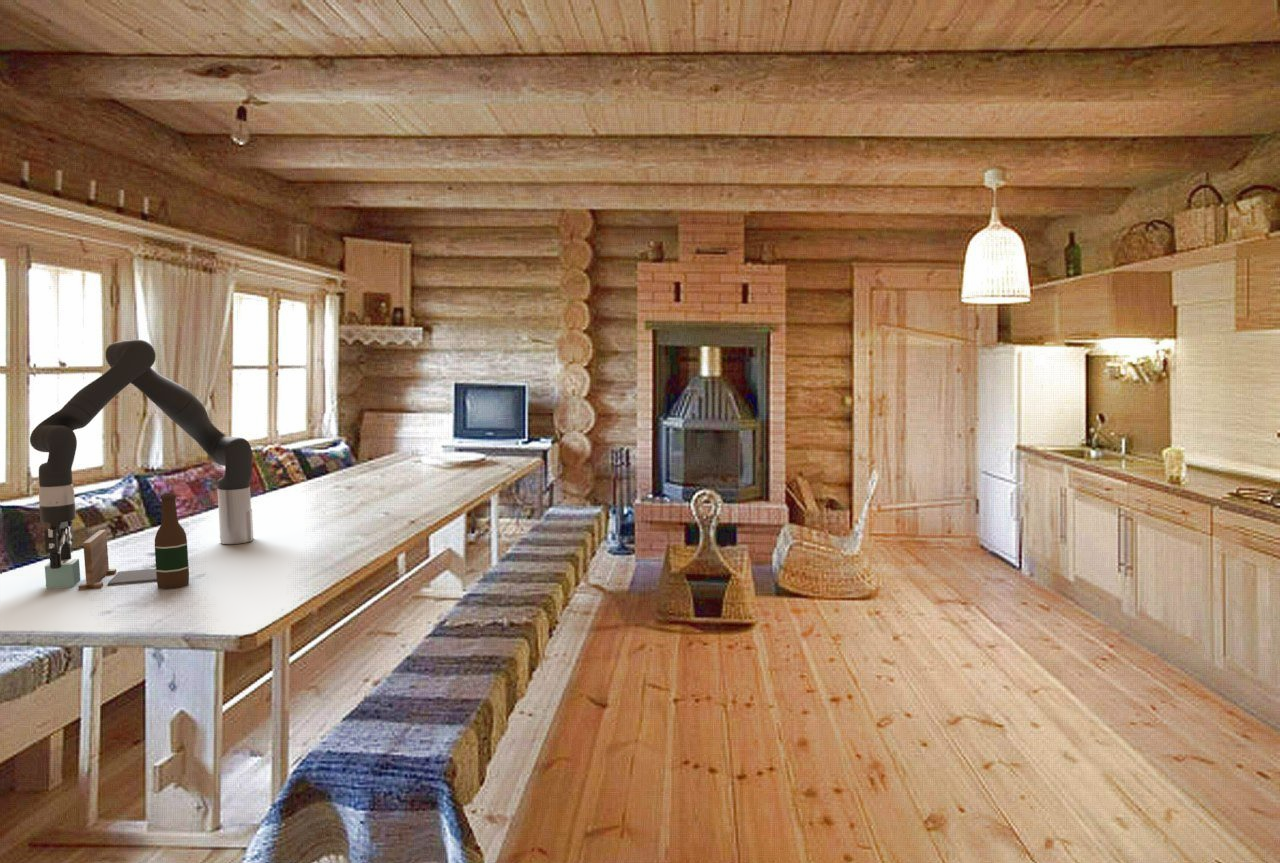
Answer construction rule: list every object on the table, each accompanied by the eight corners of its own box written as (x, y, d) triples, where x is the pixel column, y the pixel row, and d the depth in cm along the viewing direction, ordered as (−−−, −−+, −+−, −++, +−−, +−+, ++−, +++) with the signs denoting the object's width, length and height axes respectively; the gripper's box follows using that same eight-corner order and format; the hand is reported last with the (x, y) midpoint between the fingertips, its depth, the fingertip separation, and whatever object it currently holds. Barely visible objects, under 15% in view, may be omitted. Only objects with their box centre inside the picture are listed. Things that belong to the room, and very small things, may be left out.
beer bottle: (165, 581, 220) (159, 491, 217) (195, 580, 220) (190, 490, 218) (150, 590, 212) (144, 496, 210) (182, 589, 213) (176, 496, 210)
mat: (168, 569, 232) (168, 567, 232) (160, 580, 220) (160, 578, 220) (118, 573, 228) (118, 571, 227) (107, 585, 216) (107, 583, 216)
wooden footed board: (116, 572, 229) (113, 529, 228) (101, 587, 214) (98, 541, 213) (95, 574, 227) (92, 530, 226) (78, 589, 212) (75, 543, 211)
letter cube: (80, 580, 221) (78, 557, 220) (73, 586, 215) (72, 562, 215) (53, 583, 219) (51, 559, 218) (46, 589, 213) (44, 564, 213)
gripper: (66, 506, 210) (70, 569, 211) (82, 497, 223) (85, 557, 224) (30, 508, 207) (34, 572, 209) (48, 498, 220) (52, 559, 222)
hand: (61, 564), depth 217 cm, fingers open, 8 cm apart
